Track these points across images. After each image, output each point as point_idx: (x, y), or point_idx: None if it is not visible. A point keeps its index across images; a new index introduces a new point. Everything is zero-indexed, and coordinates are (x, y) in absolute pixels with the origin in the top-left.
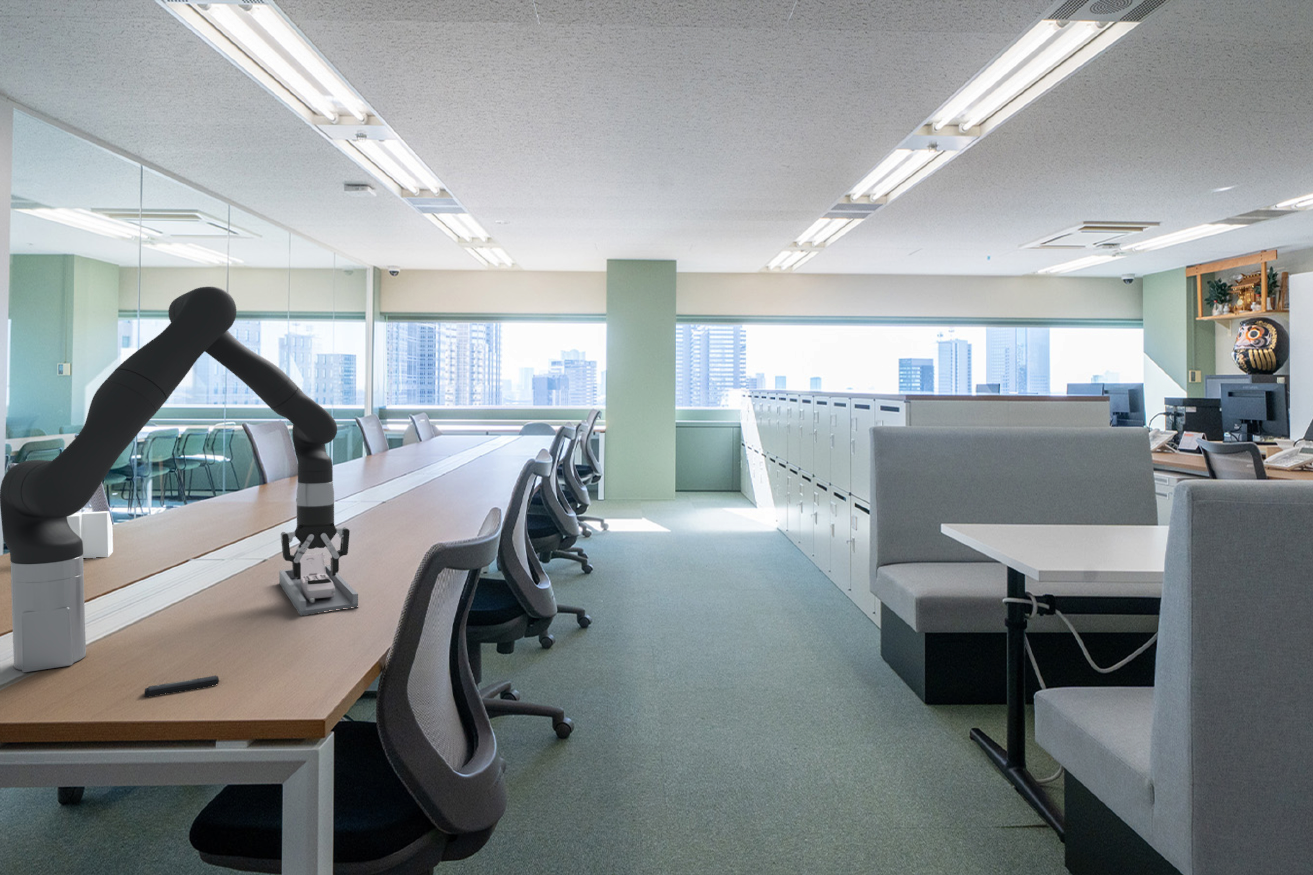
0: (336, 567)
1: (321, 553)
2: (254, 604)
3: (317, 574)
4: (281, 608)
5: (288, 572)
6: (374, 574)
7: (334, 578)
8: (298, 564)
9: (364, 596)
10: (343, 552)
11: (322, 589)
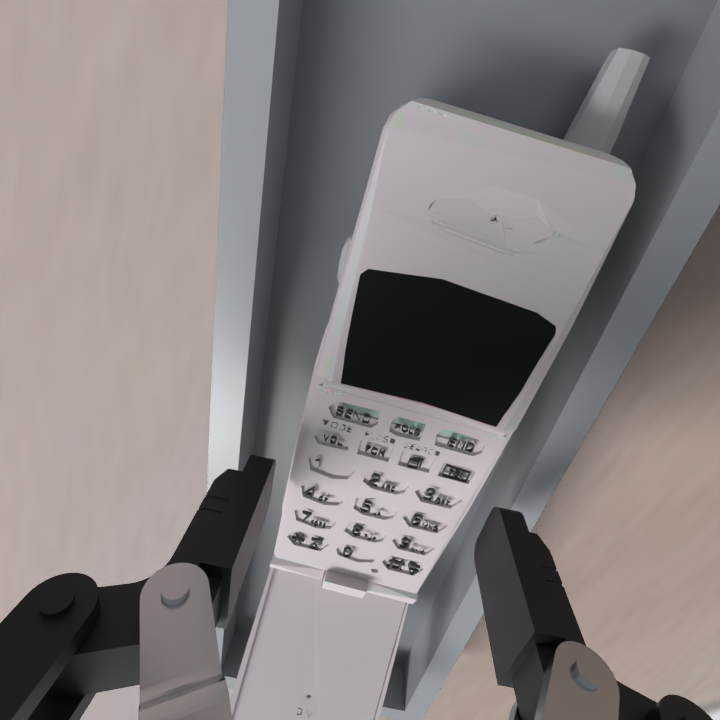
0: (222, 502)
1: None
2: (703, 461)
3: (321, 575)
4: (682, 286)
5: (388, 696)
6: (35, 555)
7: None
8: (549, 621)
9: (154, 192)
10: (74, 612)
11: (511, 134)
